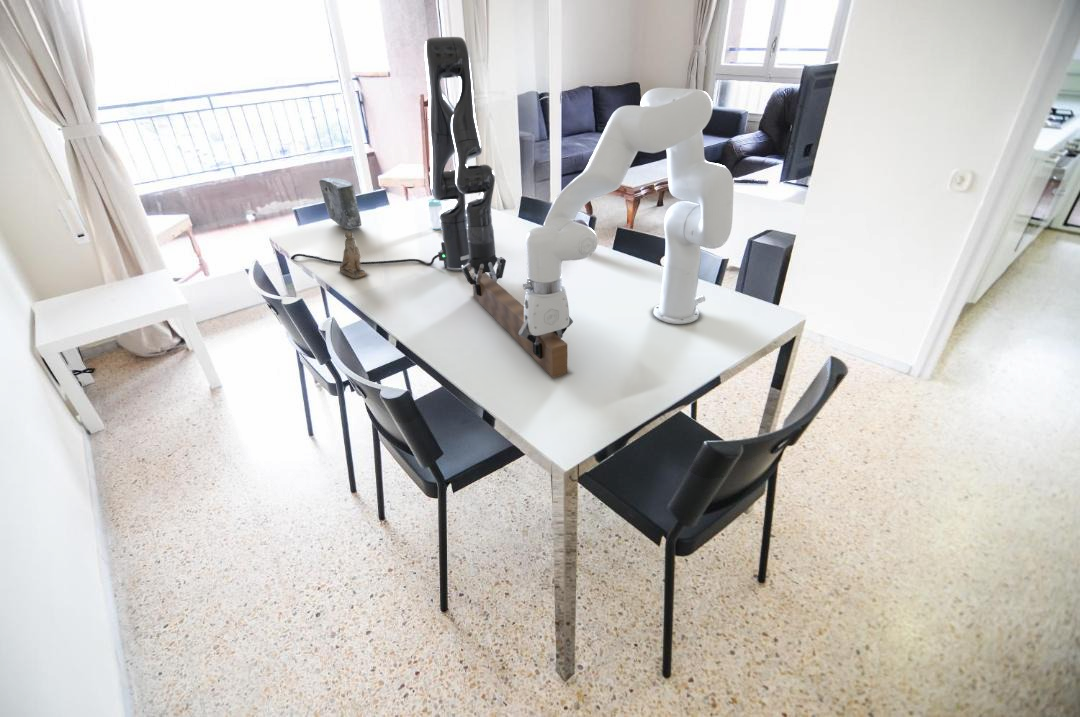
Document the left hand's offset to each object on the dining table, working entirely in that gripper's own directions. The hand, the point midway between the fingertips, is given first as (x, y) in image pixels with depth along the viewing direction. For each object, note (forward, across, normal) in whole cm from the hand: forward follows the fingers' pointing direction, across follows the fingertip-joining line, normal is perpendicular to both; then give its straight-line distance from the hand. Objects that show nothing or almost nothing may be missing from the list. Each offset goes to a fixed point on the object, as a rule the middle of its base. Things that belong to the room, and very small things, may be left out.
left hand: (486, 293), depth 151 cm
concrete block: (+3, -25, +111) cm, 114 cm away
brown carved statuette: (+3, -33, +49) cm, 59 cm away
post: (+3, 0, -20) cm, 20 cm away
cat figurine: (+3, +48, +25) cm, 54 cm away
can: (+3, +11, +86) cm, 87 cm away
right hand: (+1, 0, -40) cm, 40 cm away
